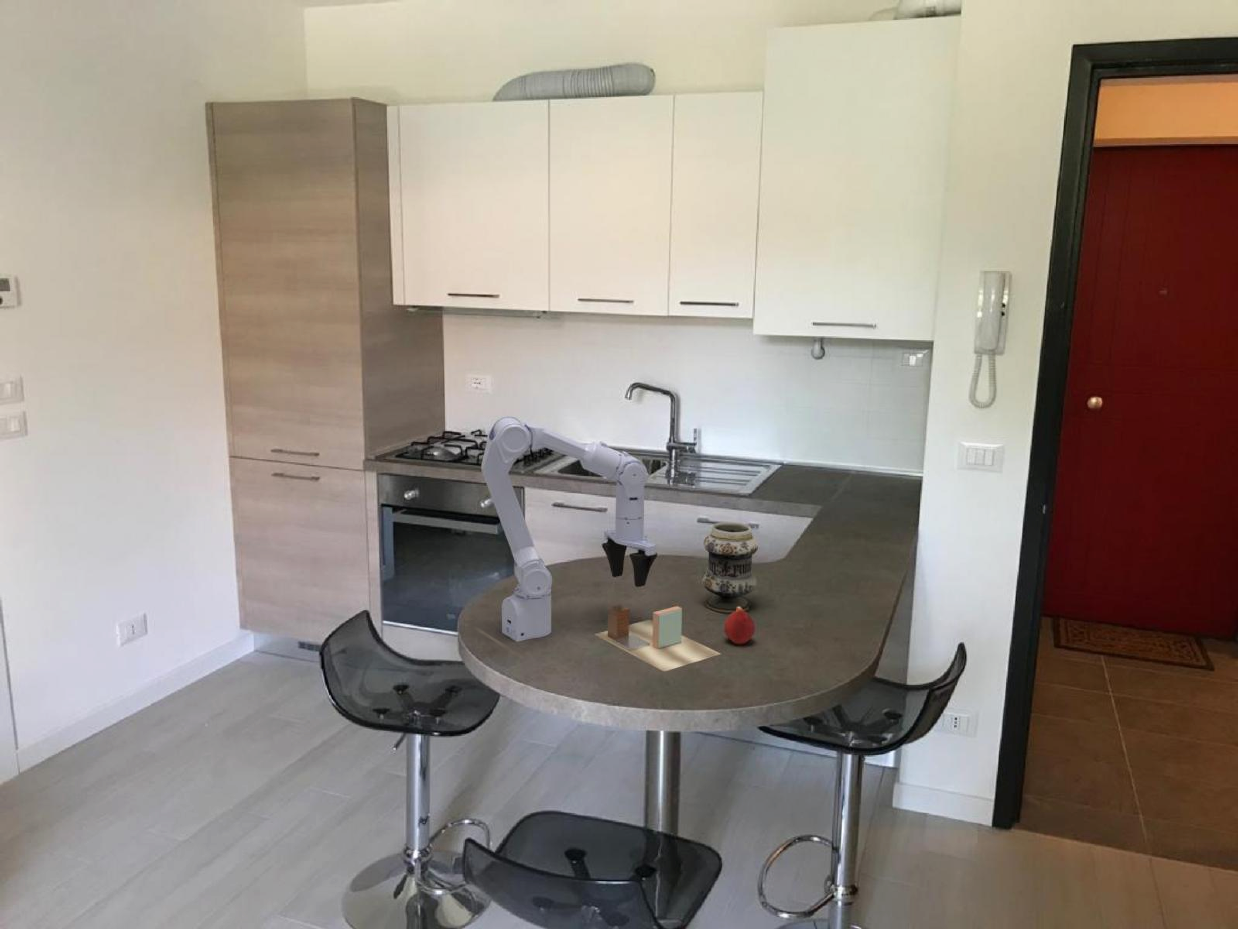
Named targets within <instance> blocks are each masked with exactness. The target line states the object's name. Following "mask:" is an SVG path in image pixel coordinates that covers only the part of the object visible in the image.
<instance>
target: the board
mask: <svg viewBox="0 0 1238 929" xmlns="http://www.w3.org/2000/svg"><path fill="white" fill-rule="evenodd" d="M593 634H594V636H596V637H598V638H600V639H602V640H604V641H606V642H608V643H609V644H611V645H613V646H615V647H617V648H619V649H621V650H623V651H624V652H626V653H628V654H630V655H632V656H634V657H636V658H637V659H639V660H641V661H643V662H645V663H647V664H649V665H650V666H652V667H654V668H656V669H659V670H660V671H661V672H663V673H664V672H668V671H671V670H675V669H677V668H680V667H685V666H688V665H690V664H694V663H697V662H699V661H703V660H706V659H709V658H712V657H716V656H719V655H722V653H720V652H719V651H716V650H714V649H712V648H710V647H708V646H706V645H704V644H701V643H699V642H697V641H695V640H693V639H691V638H688V637H686V636H685V635H683V634H681V643H677V644H674V645H670V646H667V647H663V648H660V649H656V648H654V647H652V645H653V620H651V619H647V620H643V621H639V622H636V623H631V624H629V635H632V634H633V635H635V636H637V637H639V638H641V639H643V640H645V641H647V642H649V643H650V646H647V647H643V648H640V649H636V650H633V651H628V650H626V649H624V648H622V647H620V646H618V645H617V644H615V643H613V642H612V640H613V639H611V638H610V637H608V630H605V631H602V632H597V633H593Z"/></svg>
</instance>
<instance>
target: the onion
mask: <svg viewBox="0 0 1238 929" xmlns="http://www.w3.org/2000/svg"><path fill="white" fill-rule="evenodd" d="M723 627H724V632H725V635H726V637H727V638H728V639H729V640H730V641H731V643H734V644H736V645H744V644H746V643H748V642H749V641H750V639H752V637H753V636H754V634H755V630H756V629H755V627H756V626H755V624H754V621H753V618H752V616H751V615H750V614H749V613H748V612H747V611H744V610H743V609H742V608H741V607H736V611H735V612H733V613H729V615H728V616H727V617H726V620H725V622H724V625H723Z"/></svg>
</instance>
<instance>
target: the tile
mask: <svg viewBox="0 0 1238 929" xmlns="http://www.w3.org/2000/svg"><path fill="white" fill-rule="evenodd" d="M682 619H683V608H682V607H680V606H678V605H677V606H673V607H668V608H665V609H661V610H658V611H653V612H652V621H653V645H652V647H654V648H656V649H660V648H663V647H667V646H670V645H674V644H677V643H681V635H682V632H683V631H682V630H683V628H682V626H683V625H682V624H683V622H682V621H683V620H682Z"/></svg>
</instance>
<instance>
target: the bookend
mask: <svg viewBox="0 0 1238 929" xmlns="http://www.w3.org/2000/svg"><path fill="white" fill-rule="evenodd" d="M629 625H630V608H628V607H626V606H624V605H621V604H618V605H613V606H610V607H607V631H608V637H610V638H611V639H613V640H612V642H613V643H615V644H617V645H618V646H620V647H622V648H624V649H626V650H628V651H633V650H636V649H640V648H643V647H647V646H650V643H649V642H647V641H645V640H643V639H641V638H639V637H637V636H635V635H633V634H632V635H629Z"/></svg>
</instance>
